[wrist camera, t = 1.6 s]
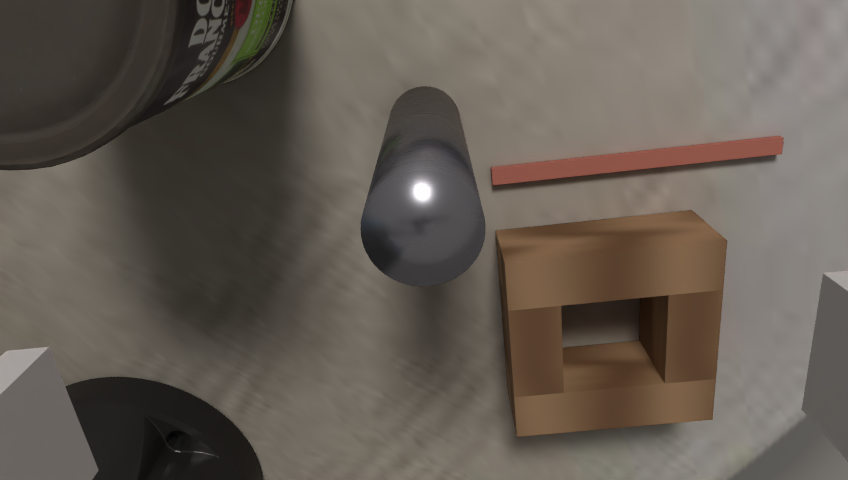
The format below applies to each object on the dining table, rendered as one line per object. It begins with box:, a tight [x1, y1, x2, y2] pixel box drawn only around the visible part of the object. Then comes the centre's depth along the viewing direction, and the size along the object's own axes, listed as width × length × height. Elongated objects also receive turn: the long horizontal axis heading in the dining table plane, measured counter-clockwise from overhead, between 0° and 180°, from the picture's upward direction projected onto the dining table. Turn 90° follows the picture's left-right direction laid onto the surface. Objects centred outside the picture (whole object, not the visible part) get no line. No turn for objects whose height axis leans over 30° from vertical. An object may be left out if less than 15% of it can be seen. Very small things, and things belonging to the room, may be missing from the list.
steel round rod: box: [361, 86, 485, 286], centre depth 23 cm, size 3×3×14 cm
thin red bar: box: [491, 136, 784, 185], centre depth 30 cm, size 14×1×1 cm, turn 97°
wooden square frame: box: [496, 210, 727, 437], centre depth 32 cm, size 10×10×4 cm
